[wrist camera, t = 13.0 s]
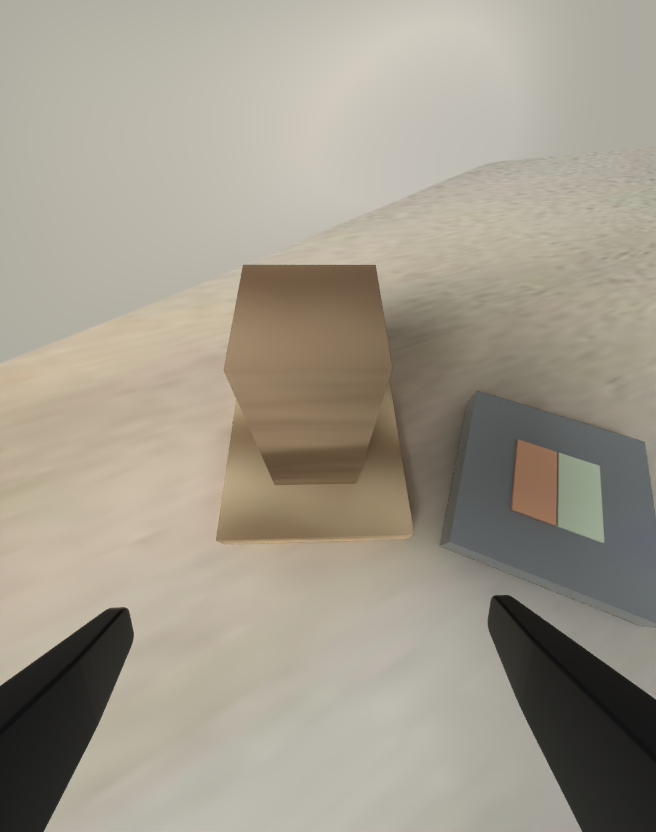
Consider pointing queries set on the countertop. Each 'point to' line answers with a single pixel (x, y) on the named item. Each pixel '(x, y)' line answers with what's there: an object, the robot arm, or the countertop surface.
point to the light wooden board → (316, 494)
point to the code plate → (555, 506)
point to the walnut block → (309, 367)
